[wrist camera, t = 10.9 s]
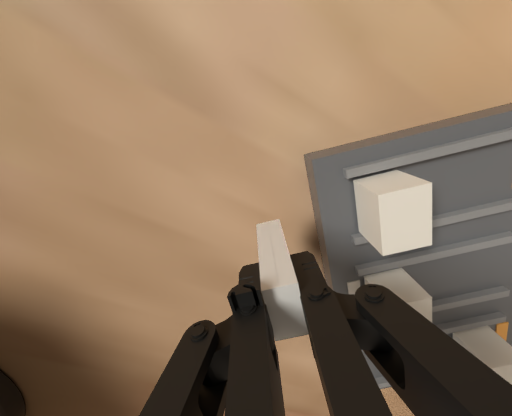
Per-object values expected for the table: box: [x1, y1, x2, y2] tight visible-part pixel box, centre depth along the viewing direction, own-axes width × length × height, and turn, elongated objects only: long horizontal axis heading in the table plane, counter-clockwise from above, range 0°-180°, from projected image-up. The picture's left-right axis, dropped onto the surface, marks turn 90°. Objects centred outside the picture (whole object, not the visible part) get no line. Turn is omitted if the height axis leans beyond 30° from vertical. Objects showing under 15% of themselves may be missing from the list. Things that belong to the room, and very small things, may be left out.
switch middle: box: [364, 268, 432, 322], centre depth 19 cm, size 3×4×4 cm
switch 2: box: [453, 326, 512, 385], centre depth 22 cm, size 3×4×4 cm
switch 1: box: [353, 170, 432, 256], centre depth 16 cm, size 3×4×4 cm
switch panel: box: [304, 103, 512, 389], centre depth 22 cm, size 16×24×3 cm, turn 14°
